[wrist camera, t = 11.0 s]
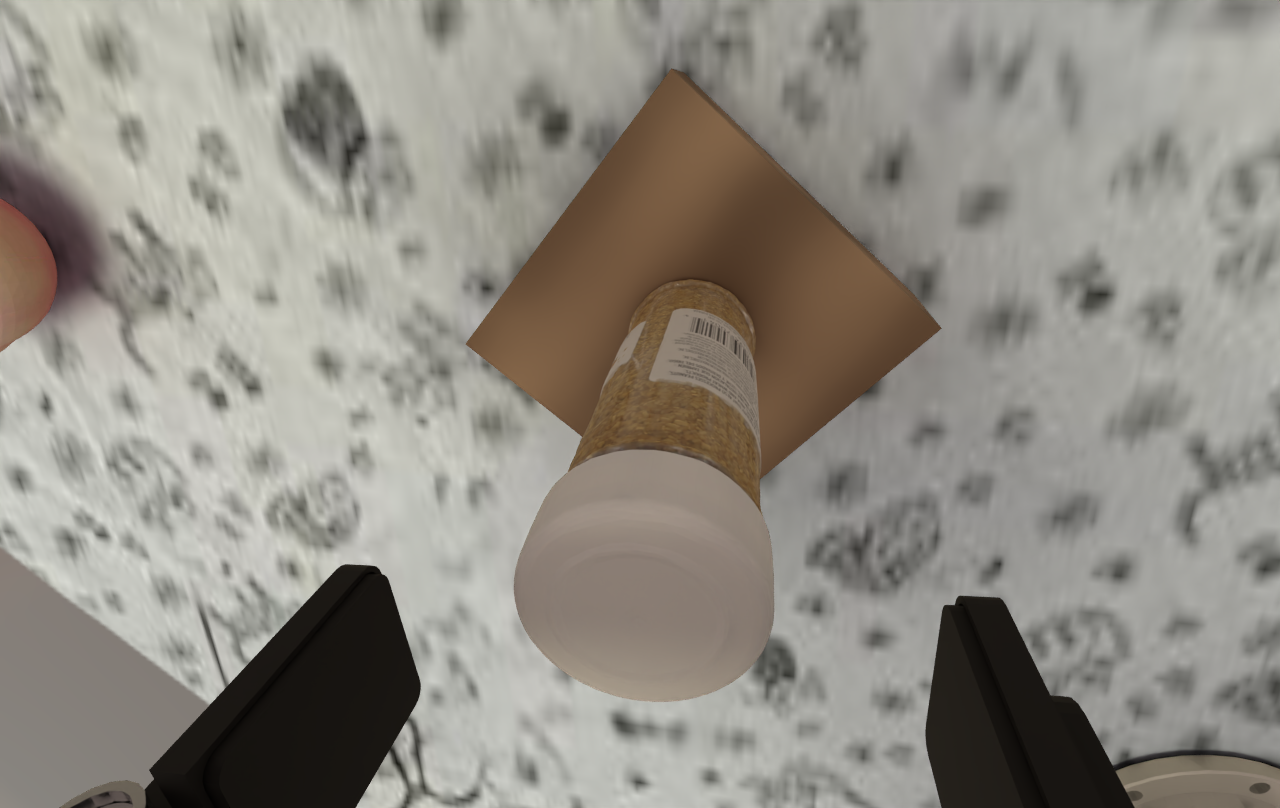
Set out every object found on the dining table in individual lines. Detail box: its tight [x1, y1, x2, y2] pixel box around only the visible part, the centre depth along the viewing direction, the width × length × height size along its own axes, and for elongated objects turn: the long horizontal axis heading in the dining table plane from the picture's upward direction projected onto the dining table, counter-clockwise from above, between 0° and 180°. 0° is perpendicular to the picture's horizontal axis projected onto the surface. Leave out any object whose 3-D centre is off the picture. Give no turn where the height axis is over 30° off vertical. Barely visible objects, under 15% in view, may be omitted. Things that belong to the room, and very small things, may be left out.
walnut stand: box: [466, 69, 941, 480], centre depth 24 cm, size 12×12×4 cm
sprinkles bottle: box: [514, 279, 774, 702], centre depth 16 cm, size 5×5×14 cm
